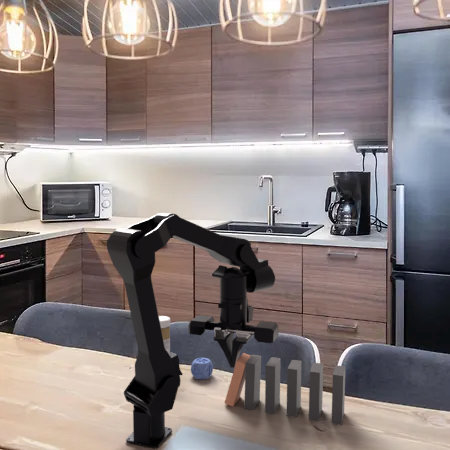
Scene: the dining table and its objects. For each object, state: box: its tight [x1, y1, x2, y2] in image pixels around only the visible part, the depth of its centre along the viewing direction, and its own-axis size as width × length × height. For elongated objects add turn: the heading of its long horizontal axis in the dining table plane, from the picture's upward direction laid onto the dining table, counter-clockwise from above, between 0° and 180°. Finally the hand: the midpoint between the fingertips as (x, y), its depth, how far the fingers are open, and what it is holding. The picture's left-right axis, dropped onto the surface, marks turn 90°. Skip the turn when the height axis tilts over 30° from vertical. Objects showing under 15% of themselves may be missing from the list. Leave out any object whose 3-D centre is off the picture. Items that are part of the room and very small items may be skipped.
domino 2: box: [243, 354, 262, 411], centre depth 102 cm, size 2×5×10 cm, turn 161°
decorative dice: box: [190, 357, 214, 381], centre depth 117 cm, size 4×4×4 cm
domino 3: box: [264, 356, 281, 415], centre depth 101 cm, size 2×5×10 cm, turn 161°
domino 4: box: [286, 359, 302, 418], centre depth 99 cm, size 2×5×10 cm, turn 161°
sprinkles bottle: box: [159, 315, 171, 352], centre depth 120 cm, size 5×5×13 cm
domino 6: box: [330, 364, 347, 426], centre depth 96 cm, size 2×5×10 cm, turn 161°
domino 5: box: [308, 362, 324, 422], centre depth 98 cm, size 2×5×10 cm, turn 161°
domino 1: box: [224, 352, 251, 408], centre depth 103 cm, size 2×5×10 cm, turn 162°
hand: (233, 367), depth 103 cm, fingers closed
